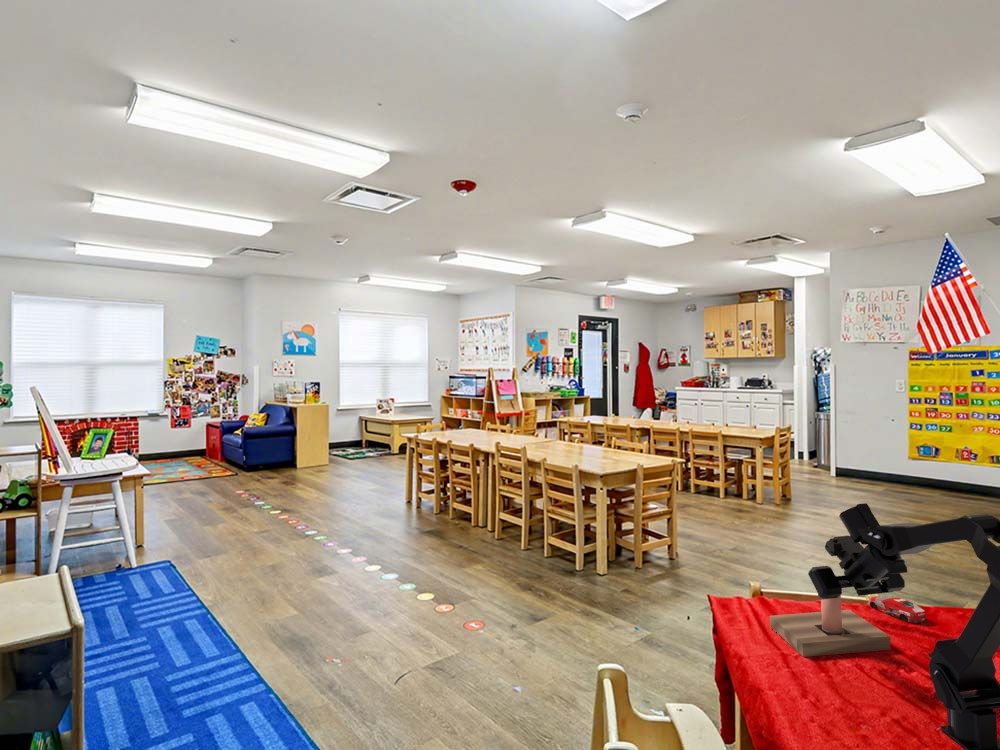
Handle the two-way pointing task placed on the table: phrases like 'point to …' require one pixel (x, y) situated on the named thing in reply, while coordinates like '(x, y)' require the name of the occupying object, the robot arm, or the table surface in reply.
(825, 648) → the board
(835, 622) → the peg
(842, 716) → the table surface
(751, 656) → the table surface
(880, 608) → the race car
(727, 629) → the table surface
